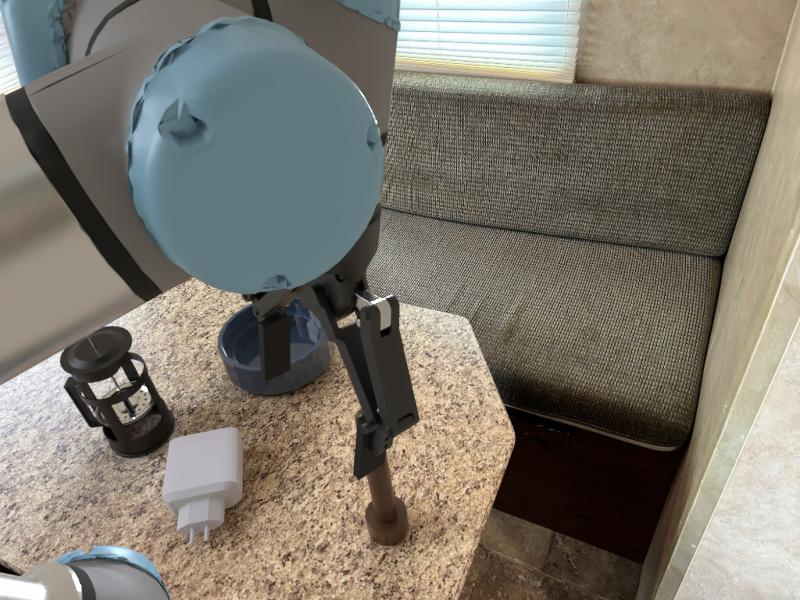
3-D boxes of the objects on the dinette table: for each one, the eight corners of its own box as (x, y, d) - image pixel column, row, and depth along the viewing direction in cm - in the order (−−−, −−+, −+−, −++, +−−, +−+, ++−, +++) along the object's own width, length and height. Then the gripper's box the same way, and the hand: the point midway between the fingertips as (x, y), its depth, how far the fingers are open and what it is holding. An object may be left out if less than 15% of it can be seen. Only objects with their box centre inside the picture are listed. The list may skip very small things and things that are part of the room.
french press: (186, 403, 93) (129, 284, 78) (171, 454, 85) (106, 333, 71) (110, 411, 93) (39, 294, 78) (89, 463, 85) (7, 344, 71)
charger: (166, 561, 73) (178, 460, 84) (243, 544, 73) (245, 446, 85) (152, 541, 70) (167, 438, 81) (232, 523, 70) (236, 424, 82)
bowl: (273, 416, 89) (263, 388, 85) (206, 365, 99) (195, 338, 95) (356, 349, 98) (351, 321, 95) (288, 309, 108) (281, 282, 104)
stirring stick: (389, 554, 71) (366, 439, 57) (359, 529, 74) (330, 414, 60) (417, 523, 73) (401, 407, 60) (387, 500, 76) (365, 384, 63)
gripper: (505, 267, 35) (451, 492, 48) (271, 124, 49) (277, 327, 62) (411, 312, 31) (378, 546, 43) (184, 142, 45) (209, 356, 57)
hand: (319, 418), depth 53 cm, fingers open, 13 cm apart
